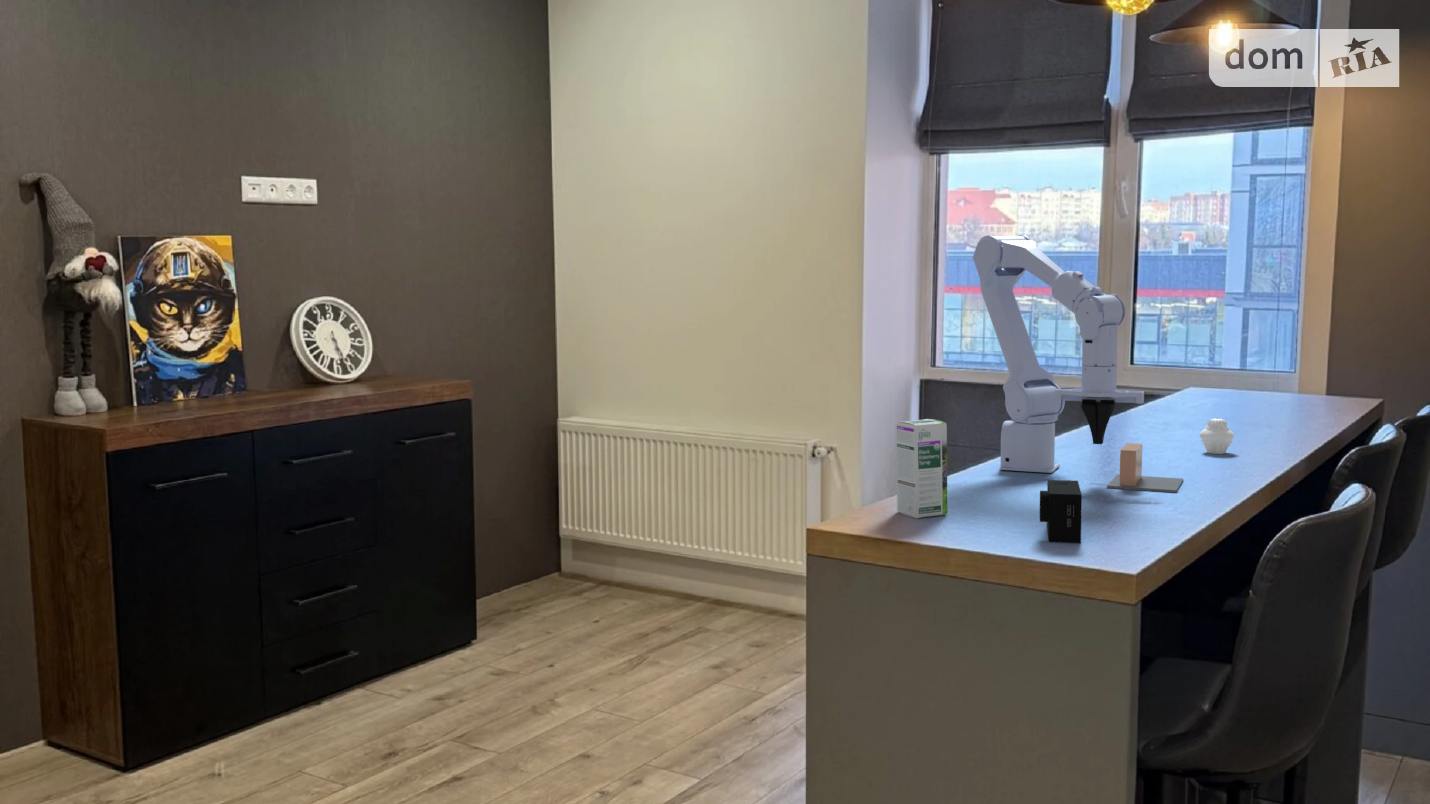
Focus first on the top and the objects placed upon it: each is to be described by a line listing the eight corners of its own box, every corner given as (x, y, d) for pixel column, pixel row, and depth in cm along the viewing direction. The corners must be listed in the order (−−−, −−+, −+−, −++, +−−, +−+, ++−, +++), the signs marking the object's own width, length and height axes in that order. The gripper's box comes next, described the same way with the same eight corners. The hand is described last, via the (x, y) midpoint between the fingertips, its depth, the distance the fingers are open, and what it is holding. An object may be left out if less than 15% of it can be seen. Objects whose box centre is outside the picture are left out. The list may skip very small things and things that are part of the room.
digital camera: (1038, 525, 175) (1039, 478, 174) (1077, 526, 174) (1077, 479, 173) (1039, 542, 165) (1040, 492, 164) (1080, 543, 164) (1081, 493, 163)
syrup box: (916, 519, 180) (916, 424, 178) (895, 511, 185) (895, 420, 184) (948, 515, 182) (948, 421, 181) (926, 508, 188) (926, 417, 186)
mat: (1106, 488, 201) (1107, 485, 201) (1116, 476, 210) (1116, 474, 210) (1176, 492, 196) (1176, 490, 196) (1183, 480, 205) (1183, 478, 205)
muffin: (1238, 455, 230) (1239, 419, 229) (1206, 455, 230) (1207, 419, 229) (1225, 449, 236) (1226, 414, 235) (1194, 450, 236) (1195, 415, 235)
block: (1118, 485, 201) (1119, 450, 200) (1125, 476, 208) (1126, 443, 207) (1135, 486, 200) (1136, 450, 199) (1141, 477, 207) (1142, 443, 206)
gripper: (1051, 366, 204) (1050, 444, 205) (1140, 368, 197) (1139, 448, 199) (1059, 362, 210) (1058, 438, 212) (1146, 364, 204) (1144, 442, 205)
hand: (1098, 443), depth 206 cm, fingers closed
